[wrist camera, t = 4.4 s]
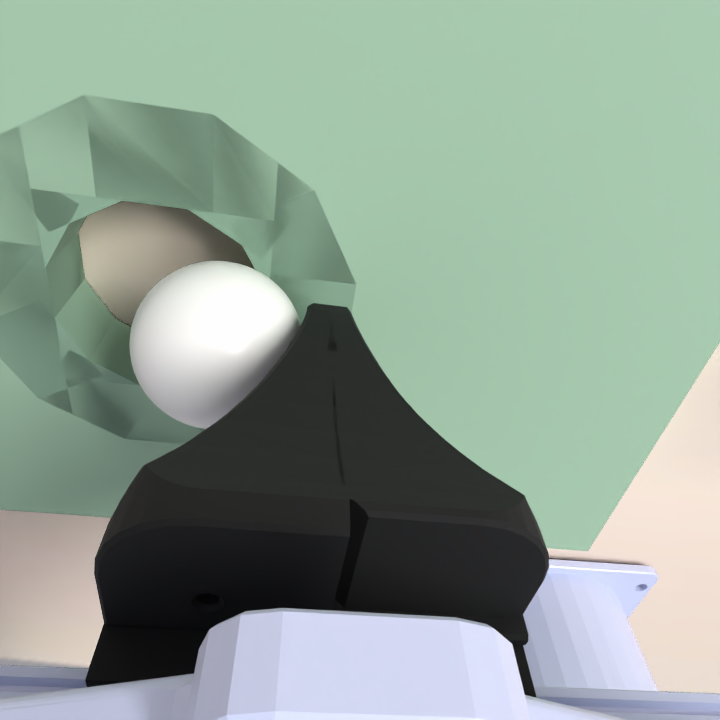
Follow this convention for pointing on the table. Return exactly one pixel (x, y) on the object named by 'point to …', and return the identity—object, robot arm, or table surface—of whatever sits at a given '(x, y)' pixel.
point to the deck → (376, 218)
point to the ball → (209, 338)
